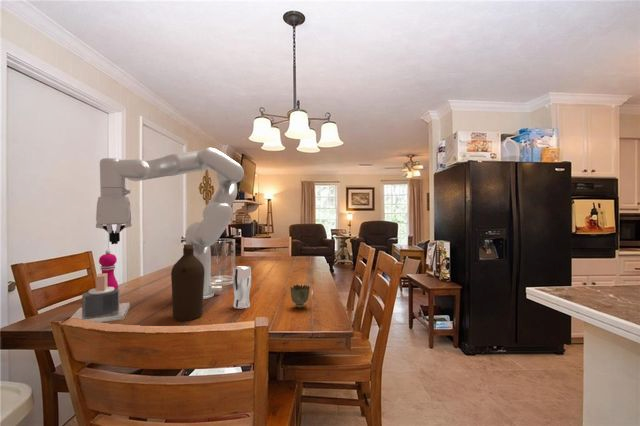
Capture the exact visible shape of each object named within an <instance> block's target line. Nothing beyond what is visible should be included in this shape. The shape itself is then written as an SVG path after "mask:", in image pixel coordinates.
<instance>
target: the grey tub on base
mask: <svg viewBox="0 0 640 426" xmlns="http://www.w3.org/2000/svg"><path fill="white" fill-rule="evenodd" d="M81 296H82V297H81V300H82V302H81V306H82V307H80V308H78V309H77V310H76V312H75V313H73V314H72V315H71V316H70V318H78V319H82V320H89V321H97V322H98V323H105V322H106V323H107V322H111V321H112V322H113V321H121V320H124V319H125V318H126V315H127V313H128V311H129V309H130V306H131V302H122V303H120V289H119V288H118V289H114V292H112V293H108V294H103V295H89V291H87V292H84V293H82V295H81Z"/></svg>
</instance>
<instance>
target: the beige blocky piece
mask: <svg viewBox="0 0 640 426" xmlns="http://www.w3.org/2000/svg"><path fill="white" fill-rule="evenodd" d="M107 276H108V273H104V274H102V273H99V274H97V275H96V276H95V288H91V289H88V292H89V295H103V294H108V293H112V292H114V287H107Z"/></svg>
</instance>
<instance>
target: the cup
mask: <svg viewBox="0 0 640 426" xmlns="http://www.w3.org/2000/svg"><path fill="white" fill-rule="evenodd" d="M289 287H290V288H289V290H290V297H291V301H292V302H293V303H294V307H295V308H296V307H299V308H298V309H301V308H300V307H303V308H305V307H306V306H305V304H307V302H308V300H309V295H310V288H311V286H309V285H307V284H303V285H302V284H300V285H299V284H296V285H295V284H294V285H293V286H289Z"/></svg>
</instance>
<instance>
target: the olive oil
mask: <svg viewBox="0 0 640 426" xmlns="http://www.w3.org/2000/svg"><path fill="white" fill-rule="evenodd" d="M182 254H183V255H181V257H180V258H179V259H178V260H177V261H176V262H175V264H173V266H172V269H171V272H170V273H171V274H170V275H171V276H170V278H171V279H170V280H171V295H172V296H171V297H172V298H171V300H172V304H171V305H172V319H173V320H174V321H179V322H185V321H187V322H188V321H192V320H196V319H199V318H201V317H202V316H203V307H204V306H203V305H204V299H203V290H204V275H205V270H204V266H203V264H202V263H201V262H200V261H199V260H198V259H197V258H196V257H195V256H194V248H193V244H186V243H184V244H183V248H182Z"/></svg>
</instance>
